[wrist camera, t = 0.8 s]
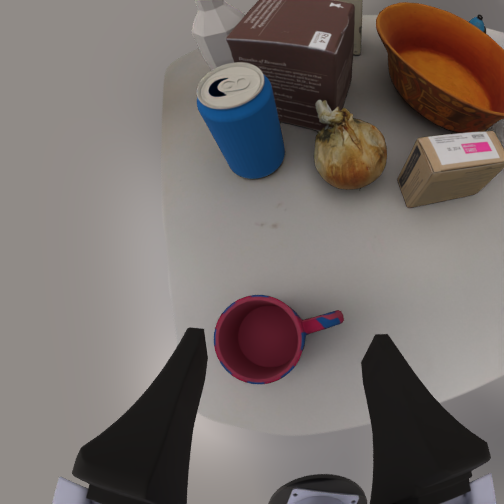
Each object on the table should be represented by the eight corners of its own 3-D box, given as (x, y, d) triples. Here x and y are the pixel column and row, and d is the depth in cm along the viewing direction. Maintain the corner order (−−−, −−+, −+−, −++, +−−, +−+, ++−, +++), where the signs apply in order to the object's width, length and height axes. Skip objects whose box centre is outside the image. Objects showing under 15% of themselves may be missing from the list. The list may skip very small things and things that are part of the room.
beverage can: (230, 137, 34) (196, 67, 22) (284, 132, 32) (268, 54, 21) (228, 184, 32) (187, 118, 21) (286, 179, 31) (270, 105, 19)
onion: (305, 194, 30) (301, 152, 22) (317, 133, 31) (316, 86, 24) (375, 208, 28) (393, 171, 21) (381, 146, 30) (395, 100, 22)
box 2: (360, 56, 33) (364, -15, 21) (330, 53, 34) (327, -19, 22) (359, 38, 34) (361, -27, 22) (331, 35, 35) (328, -31, 23)
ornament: (476, 73, 29) (494, 31, 20) (452, 59, 31) (466, 15, 21) (479, 53, 30) (494, 15, 20) (458, 41, 31) (470, 2, 22)
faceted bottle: (212, 80, 37) (153, -43, 16) (253, 64, 36) (210, -64, 15) (226, 106, 35) (160, -35, 14) (270, 88, 34) (229, -59, 14)
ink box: (465, 167, 27) (494, 128, 19) (477, 196, 26) (512, 162, 18) (394, 178, 28) (415, 133, 20) (406, 210, 27) (433, 172, 19)
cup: (232, 307, 29) (208, 301, 22) (333, 290, 27) (340, 279, 21) (240, 373, 27) (219, 387, 20) (344, 359, 25) (354, 370, 19)
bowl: (505, 97, 27) (528, 58, 18) (489, 192, 26) (532, 151, 16) (395, 35, 34) (401, -11, 24) (345, 106, 32) (348, 44, 22)
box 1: (279, 65, 35) (263, -8, 23) (352, 80, 33) (356, 3, 20) (249, 118, 34) (221, 38, 22) (333, 138, 31) (336, 51, 19)
